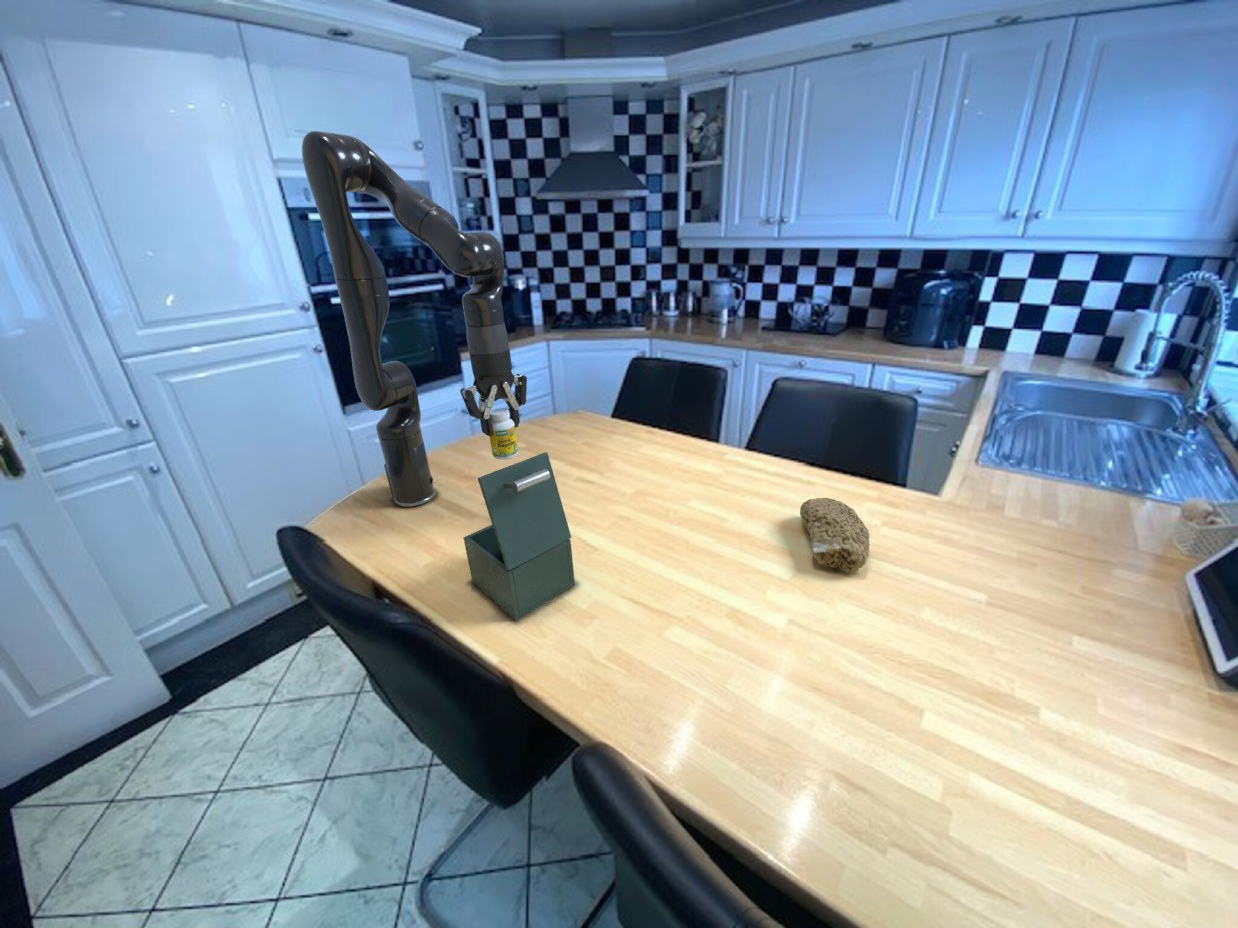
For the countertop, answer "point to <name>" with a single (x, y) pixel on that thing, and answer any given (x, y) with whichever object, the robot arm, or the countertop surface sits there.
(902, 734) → the countertop surface
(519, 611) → the bin
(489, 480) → the bin lid
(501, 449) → the supplement bottle
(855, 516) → the sponge
